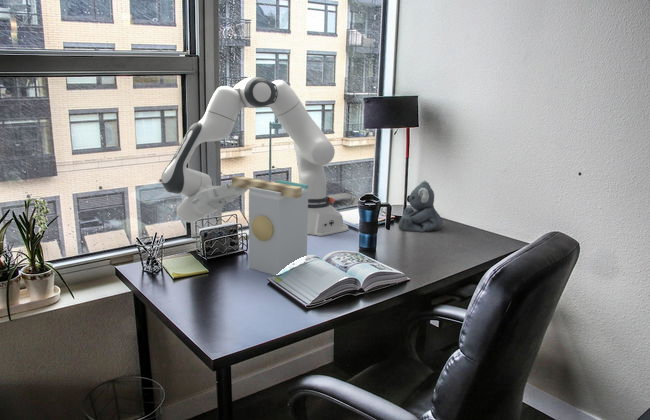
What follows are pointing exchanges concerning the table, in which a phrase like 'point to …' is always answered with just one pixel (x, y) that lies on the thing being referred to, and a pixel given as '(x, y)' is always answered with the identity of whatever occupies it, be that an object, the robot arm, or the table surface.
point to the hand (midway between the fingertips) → (237, 184)
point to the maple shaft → (267, 186)
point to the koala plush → (421, 211)
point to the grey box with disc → (276, 228)
